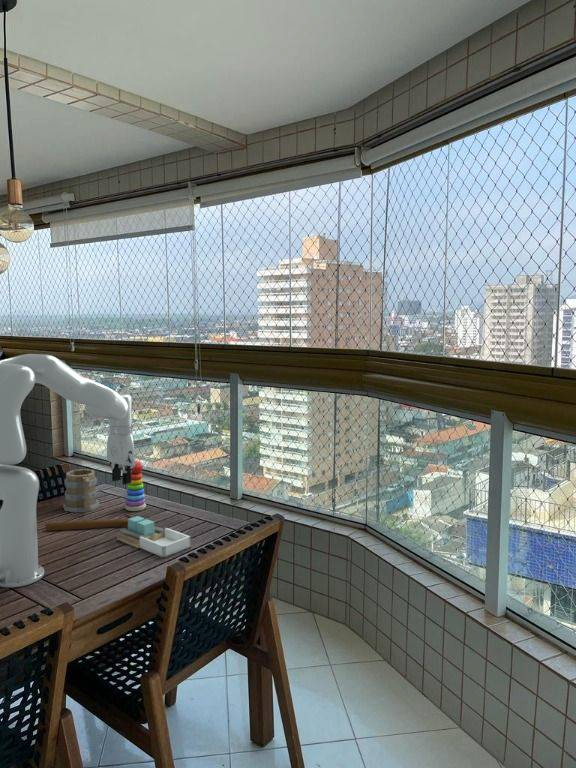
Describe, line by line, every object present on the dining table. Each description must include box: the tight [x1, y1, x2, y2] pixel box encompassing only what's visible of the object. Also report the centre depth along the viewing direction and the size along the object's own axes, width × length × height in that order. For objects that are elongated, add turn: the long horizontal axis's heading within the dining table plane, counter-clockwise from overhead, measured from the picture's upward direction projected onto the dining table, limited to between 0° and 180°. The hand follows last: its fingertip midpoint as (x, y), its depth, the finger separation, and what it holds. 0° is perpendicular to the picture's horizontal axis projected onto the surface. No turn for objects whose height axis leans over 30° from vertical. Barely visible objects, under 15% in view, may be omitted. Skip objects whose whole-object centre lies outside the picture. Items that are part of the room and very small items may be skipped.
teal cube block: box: [128, 515, 146, 533], centre depth 186 cm, size 4×4×4 cm
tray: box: [139, 527, 192, 559], centre depth 177 cm, size 11×12×4 cm
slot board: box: [116, 525, 165, 548], centre depth 184 cm, size 12×11×3 cm
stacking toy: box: [124, 460, 147, 512], centre depth 213 cm, size 8×8×19 cm
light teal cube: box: [137, 518, 155, 537], centre depth 183 cm, size 4×4×4 cm
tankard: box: [62, 468, 100, 514], centre depth 211 cm, size 20×13×15 cm, turn 28°
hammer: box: [45, 513, 135, 532], centre depth 194 cm, size 12×3×30 cm
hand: (121, 481), depth 189 cm, fingers open, 5 cm apart
